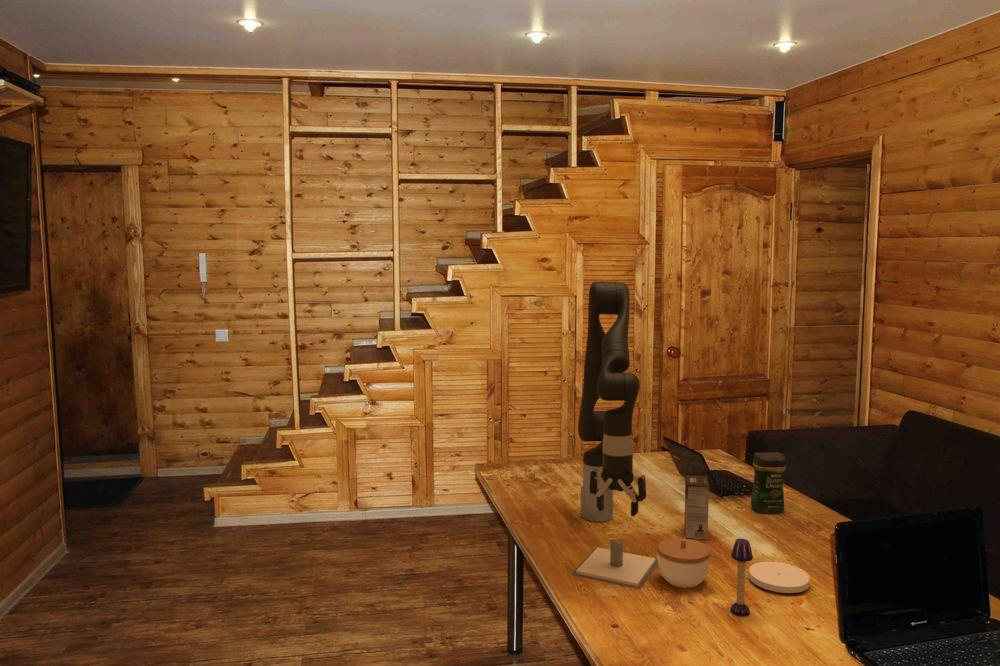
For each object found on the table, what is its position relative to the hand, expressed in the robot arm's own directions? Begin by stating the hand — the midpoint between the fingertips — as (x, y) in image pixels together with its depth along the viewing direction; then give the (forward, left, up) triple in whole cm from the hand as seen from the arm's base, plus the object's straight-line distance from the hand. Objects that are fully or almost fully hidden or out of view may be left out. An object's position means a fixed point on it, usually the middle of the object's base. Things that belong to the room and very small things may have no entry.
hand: (617, 512), depth 183 cm
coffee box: (+13, +33, -15) cm, 39 cm away
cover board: (0, 0, -15) cm, 15 cm away
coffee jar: (+29, +62, -15) cm, 70 cm away
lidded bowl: (+17, 0, -15) cm, 23 cm away
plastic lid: (+38, +11, -16) cm, 42 cm away
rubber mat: (0, 0, -15) cm, 15 cm away
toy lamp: (+32, -8, -15) cm, 36 cm away
